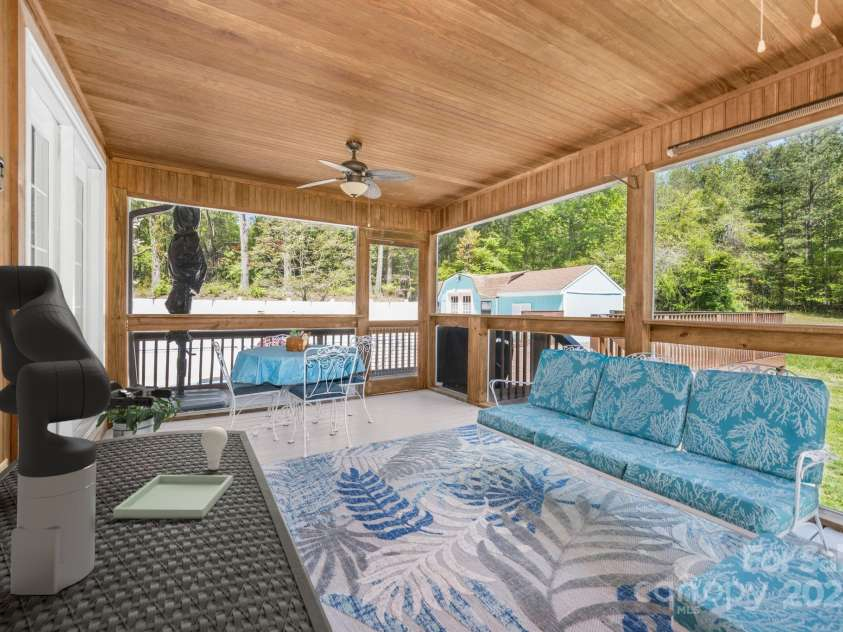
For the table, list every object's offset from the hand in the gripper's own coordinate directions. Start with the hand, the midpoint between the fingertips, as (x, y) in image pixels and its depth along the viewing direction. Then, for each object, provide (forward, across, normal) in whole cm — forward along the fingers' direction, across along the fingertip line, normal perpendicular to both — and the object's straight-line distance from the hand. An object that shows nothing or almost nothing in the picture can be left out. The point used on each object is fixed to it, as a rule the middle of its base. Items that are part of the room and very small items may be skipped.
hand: (162, 397), depth 107 cm
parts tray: (+12, -16, +18) cm, 27 cm away
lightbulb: (+13, 0, +18) cm, 22 cm away
